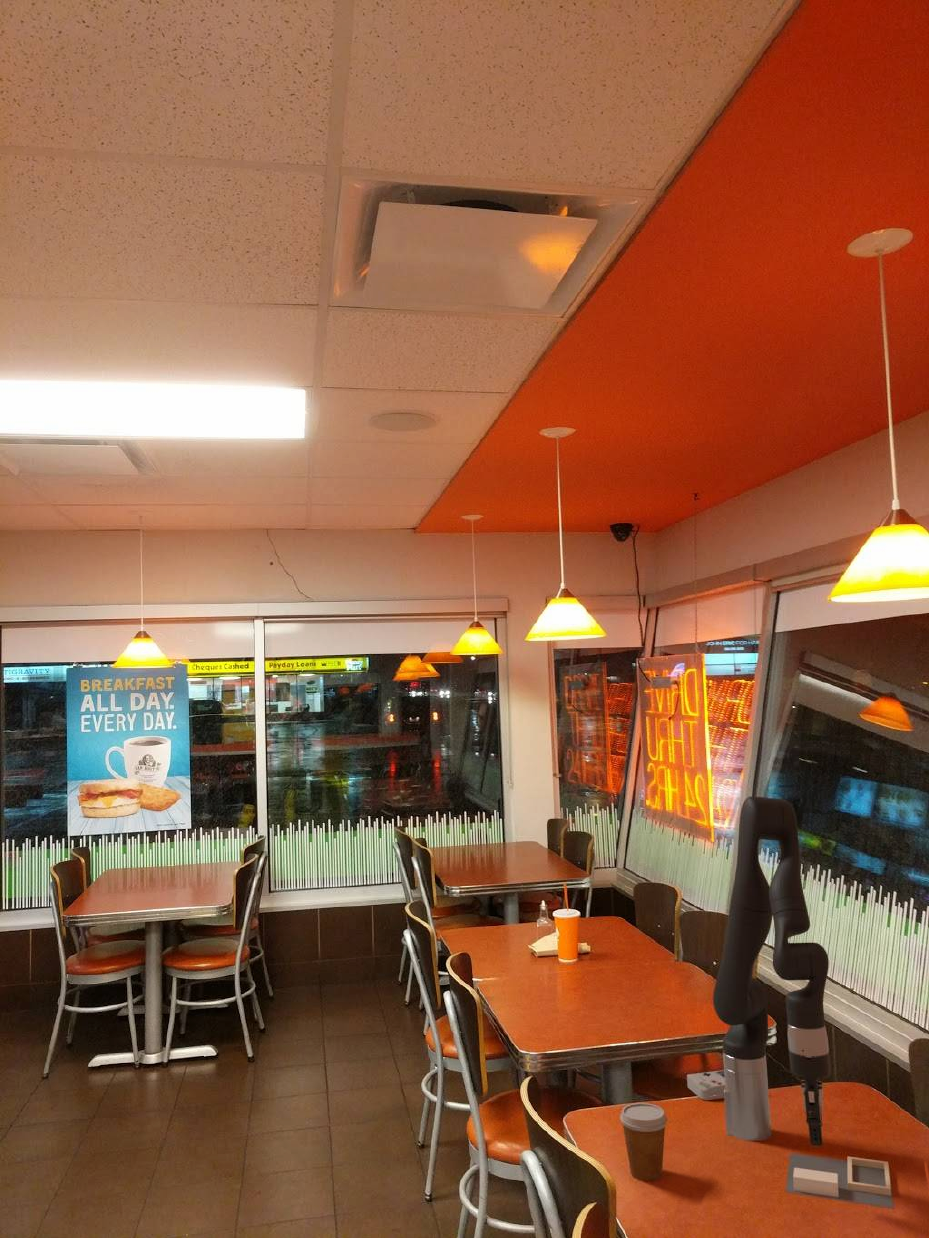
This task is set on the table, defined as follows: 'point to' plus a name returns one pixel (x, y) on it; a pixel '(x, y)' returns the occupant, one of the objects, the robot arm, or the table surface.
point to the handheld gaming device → (707, 1084)
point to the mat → (849, 1178)
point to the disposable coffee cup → (644, 1139)
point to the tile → (816, 1182)
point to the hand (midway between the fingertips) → (816, 1135)
